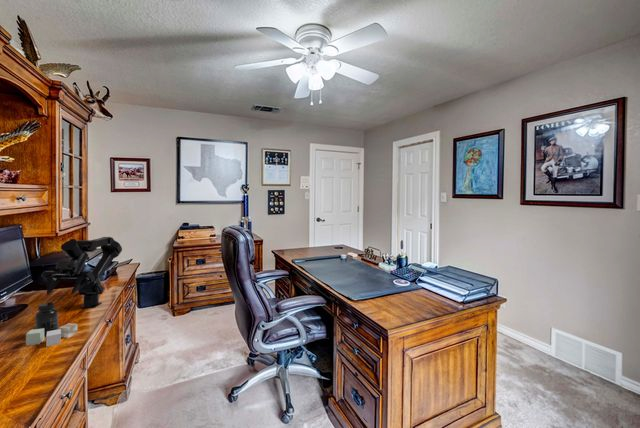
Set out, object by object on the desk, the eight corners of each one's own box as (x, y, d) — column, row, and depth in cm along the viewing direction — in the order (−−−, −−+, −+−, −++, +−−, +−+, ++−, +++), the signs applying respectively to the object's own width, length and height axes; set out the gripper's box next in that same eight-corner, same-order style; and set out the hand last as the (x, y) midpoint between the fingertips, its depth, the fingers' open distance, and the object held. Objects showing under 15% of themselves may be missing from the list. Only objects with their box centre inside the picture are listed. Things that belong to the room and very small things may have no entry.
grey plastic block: (47, 341, 114) (47, 331, 113) (60, 338, 116) (60, 328, 116) (46, 346, 110) (46, 336, 110) (60, 343, 112) (60, 333, 112)
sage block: (30, 341, 113) (30, 329, 113) (44, 339, 115) (44, 328, 115) (26, 346, 110) (25, 334, 110) (40, 344, 112) (39, 332, 111)
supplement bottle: (56, 327, 125) (56, 300, 124) (59, 332, 121) (59, 304, 120) (34, 333, 120) (33, 304, 119) (36, 338, 115) (36, 308, 115)
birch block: (68, 332, 121) (68, 323, 121) (77, 333, 121) (77, 323, 121) (59, 337, 117) (59, 327, 117) (68, 338, 117) (68, 328, 117)
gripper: (44, 253, 130) (23, 285, 119) (91, 253, 133) (75, 284, 123) (57, 266, 138) (39, 297, 128) (101, 266, 141) (87, 297, 131)
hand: (59, 294), depth 127 cm, fingers open, 9 cm apart
